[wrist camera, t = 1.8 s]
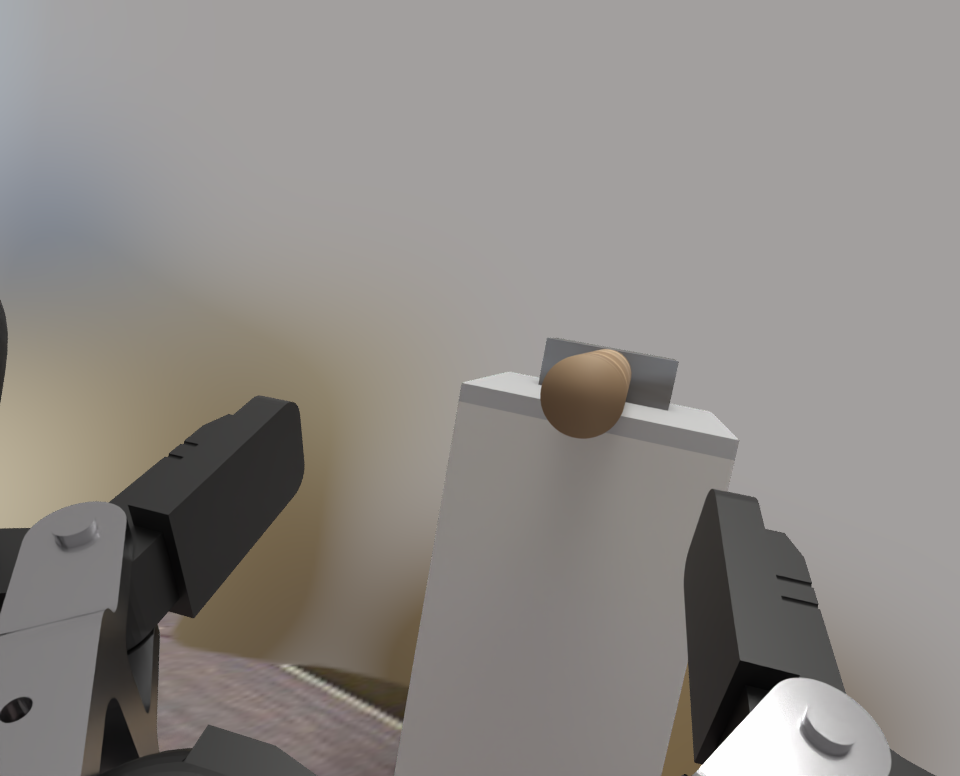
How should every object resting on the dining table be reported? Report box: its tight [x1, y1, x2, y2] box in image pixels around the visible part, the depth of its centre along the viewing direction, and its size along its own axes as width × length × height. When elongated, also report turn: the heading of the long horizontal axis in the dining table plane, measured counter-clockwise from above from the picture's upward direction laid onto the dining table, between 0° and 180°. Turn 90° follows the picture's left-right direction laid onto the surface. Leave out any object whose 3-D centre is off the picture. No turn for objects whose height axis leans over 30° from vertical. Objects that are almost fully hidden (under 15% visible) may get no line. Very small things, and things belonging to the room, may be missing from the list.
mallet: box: [538, 338, 679, 439], centre depth 31 cm, size 21×8×3 cm, turn 165°
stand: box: [394, 372, 739, 776], centre depth 38 cm, size 14×12×32 cm
